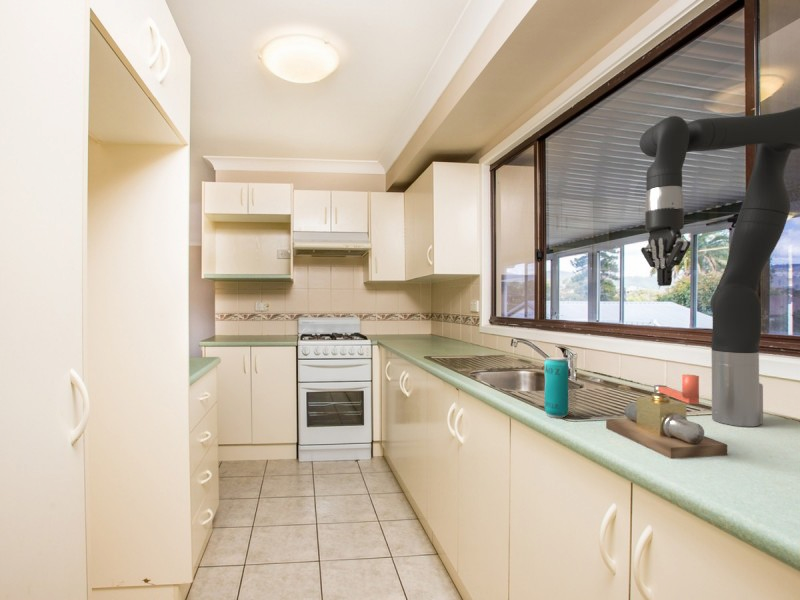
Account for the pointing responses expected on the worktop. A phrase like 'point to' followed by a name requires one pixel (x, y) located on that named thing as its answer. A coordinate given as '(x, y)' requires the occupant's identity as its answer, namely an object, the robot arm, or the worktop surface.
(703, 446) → the valve board
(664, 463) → the worktop surface
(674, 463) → the worktop surface
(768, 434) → the worktop surface
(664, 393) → the valve lever
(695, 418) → the worktop surface
